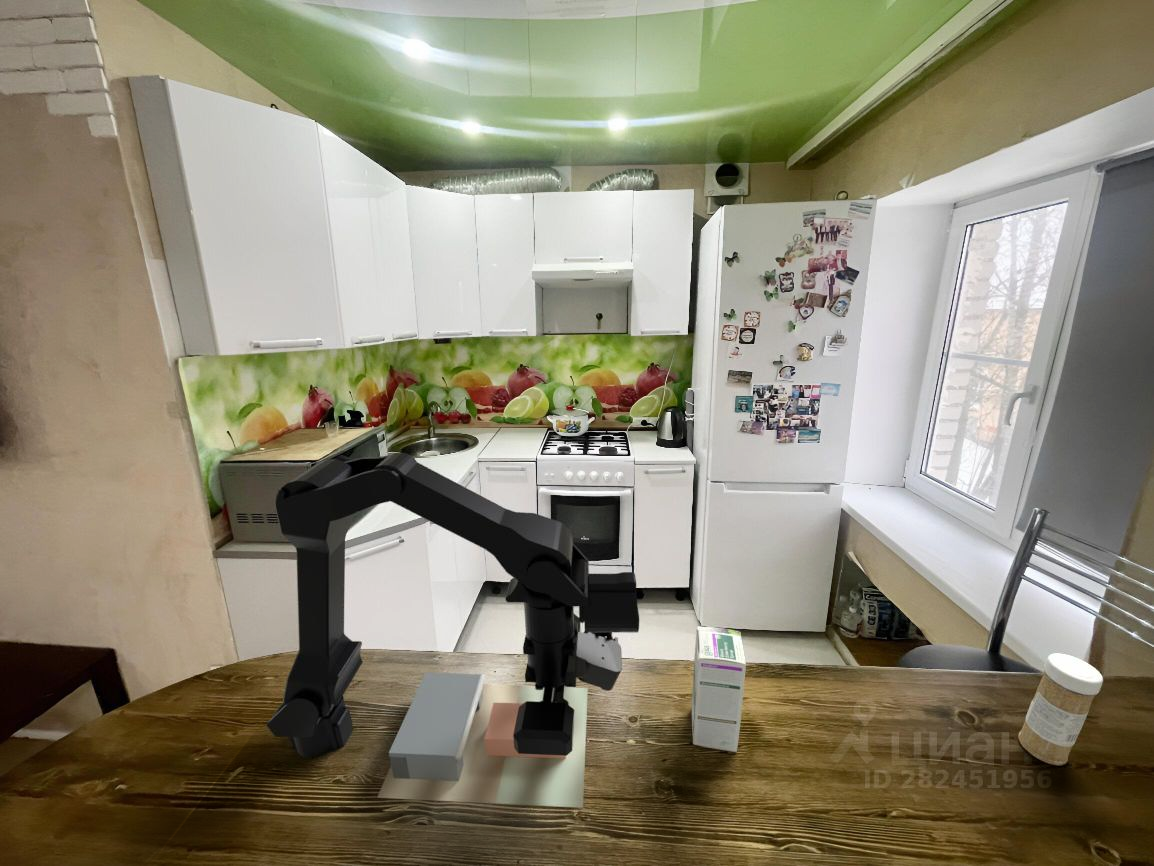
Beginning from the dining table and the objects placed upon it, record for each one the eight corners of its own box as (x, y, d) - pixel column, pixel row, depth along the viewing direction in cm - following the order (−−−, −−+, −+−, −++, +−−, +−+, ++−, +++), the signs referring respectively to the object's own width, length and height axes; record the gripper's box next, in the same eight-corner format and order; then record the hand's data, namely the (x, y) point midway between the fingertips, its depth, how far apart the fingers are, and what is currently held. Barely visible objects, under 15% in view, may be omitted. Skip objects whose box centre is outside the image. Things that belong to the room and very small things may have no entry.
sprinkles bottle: (1040, 731, 60) (1073, 650, 56) (1078, 766, 55) (1117, 681, 51) (1006, 733, 60) (1037, 652, 55) (1041, 768, 55) (1078, 683, 51)
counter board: (378, 803, 53) (377, 797, 53) (428, 687, 68) (427, 682, 68) (583, 813, 51) (582, 807, 51) (587, 693, 67) (587, 687, 66)
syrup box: (738, 754, 58) (749, 664, 53) (690, 745, 59) (697, 657, 54) (732, 714, 63) (742, 629, 58) (689, 707, 64) (695, 623, 60)
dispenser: (393, 778, 55) (388, 752, 53) (429, 695, 66) (425, 672, 64) (464, 781, 54) (460, 755, 53) (488, 697, 65) (485, 674, 64)
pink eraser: (486, 755, 57) (484, 738, 56) (495, 718, 62) (493, 702, 61) (565, 758, 57) (565, 741, 55) (568, 720, 61) (567, 704, 60)
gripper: (621, 696, 44) (619, 807, 49) (616, 578, 62) (615, 668, 67) (508, 692, 45) (517, 802, 50) (535, 576, 62) (540, 665, 67)
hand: (554, 724), depth 58 cm, fingers open, 6 cm apart
